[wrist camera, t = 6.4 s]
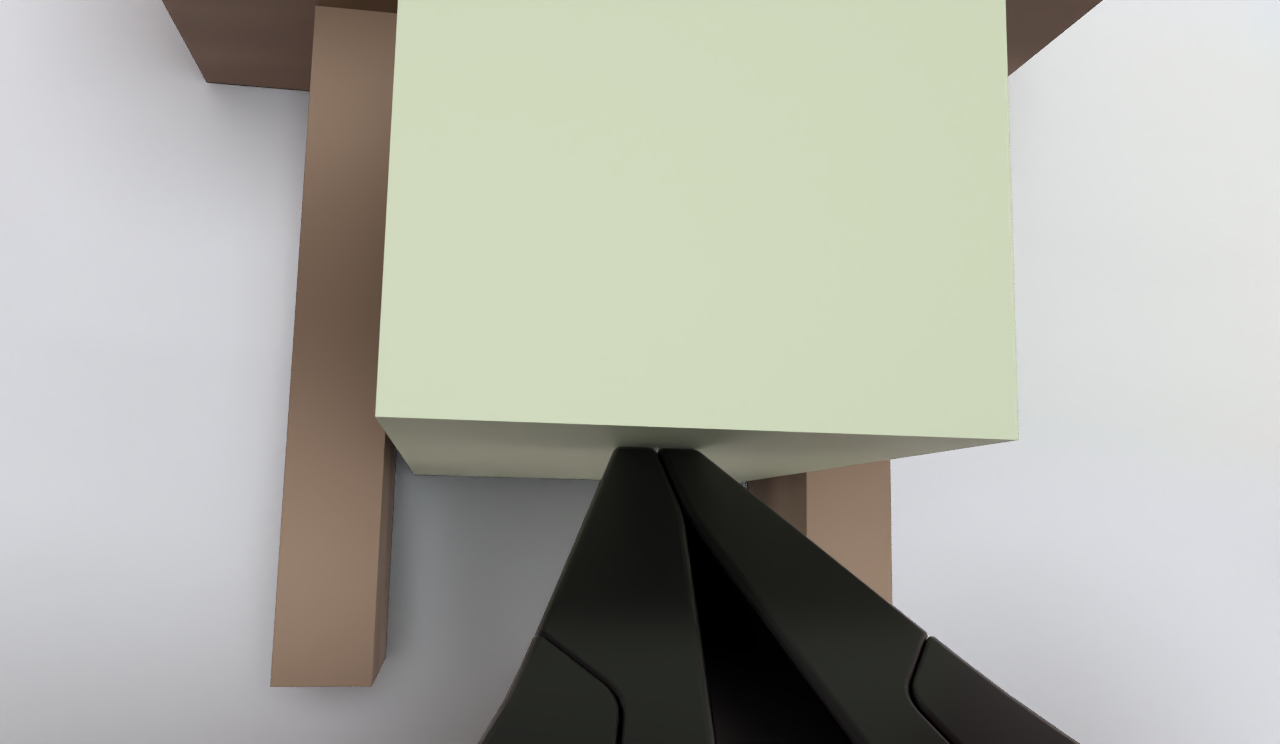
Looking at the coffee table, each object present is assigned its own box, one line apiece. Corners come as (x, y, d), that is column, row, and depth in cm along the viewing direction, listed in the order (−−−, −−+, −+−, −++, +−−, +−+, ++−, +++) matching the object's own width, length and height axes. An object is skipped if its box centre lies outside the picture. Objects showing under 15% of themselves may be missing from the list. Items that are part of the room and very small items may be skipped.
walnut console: (935, 658, 18) (1522, 815, 8) (159, 657, 16) (-304, 866, 6) (923, -19, 20) (1395, -561, 10) (220, -96, 18) (-65, -872, 8)
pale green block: (733, 483, 17) (1018, 439, 9) (414, 474, 17) (374, 416, 8) (735, 181, 18) (1000, -139, 9) (430, 158, 17) (409, -216, 9)
